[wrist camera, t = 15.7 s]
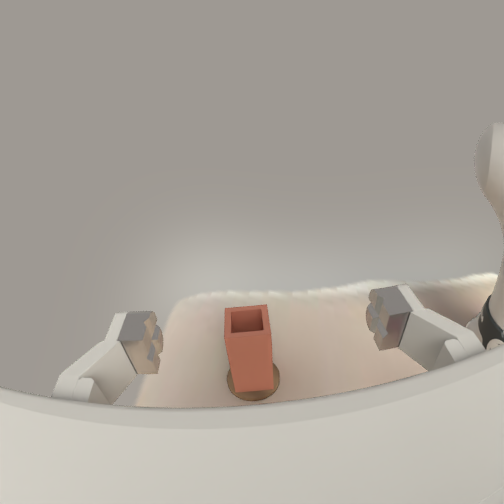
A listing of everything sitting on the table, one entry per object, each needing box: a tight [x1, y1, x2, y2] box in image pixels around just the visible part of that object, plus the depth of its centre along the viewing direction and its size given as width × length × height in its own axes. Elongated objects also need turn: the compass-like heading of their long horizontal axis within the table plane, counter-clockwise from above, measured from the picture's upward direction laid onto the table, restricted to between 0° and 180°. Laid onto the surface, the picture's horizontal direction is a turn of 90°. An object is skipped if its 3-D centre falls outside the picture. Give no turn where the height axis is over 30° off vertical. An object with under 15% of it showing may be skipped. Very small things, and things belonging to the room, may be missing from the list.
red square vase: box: [224, 304, 274, 392], centre depth 41 cm, size 6×6×12 cm
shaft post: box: [227, 364, 279, 401], centre depth 43 cm, size 8×8×8 cm
